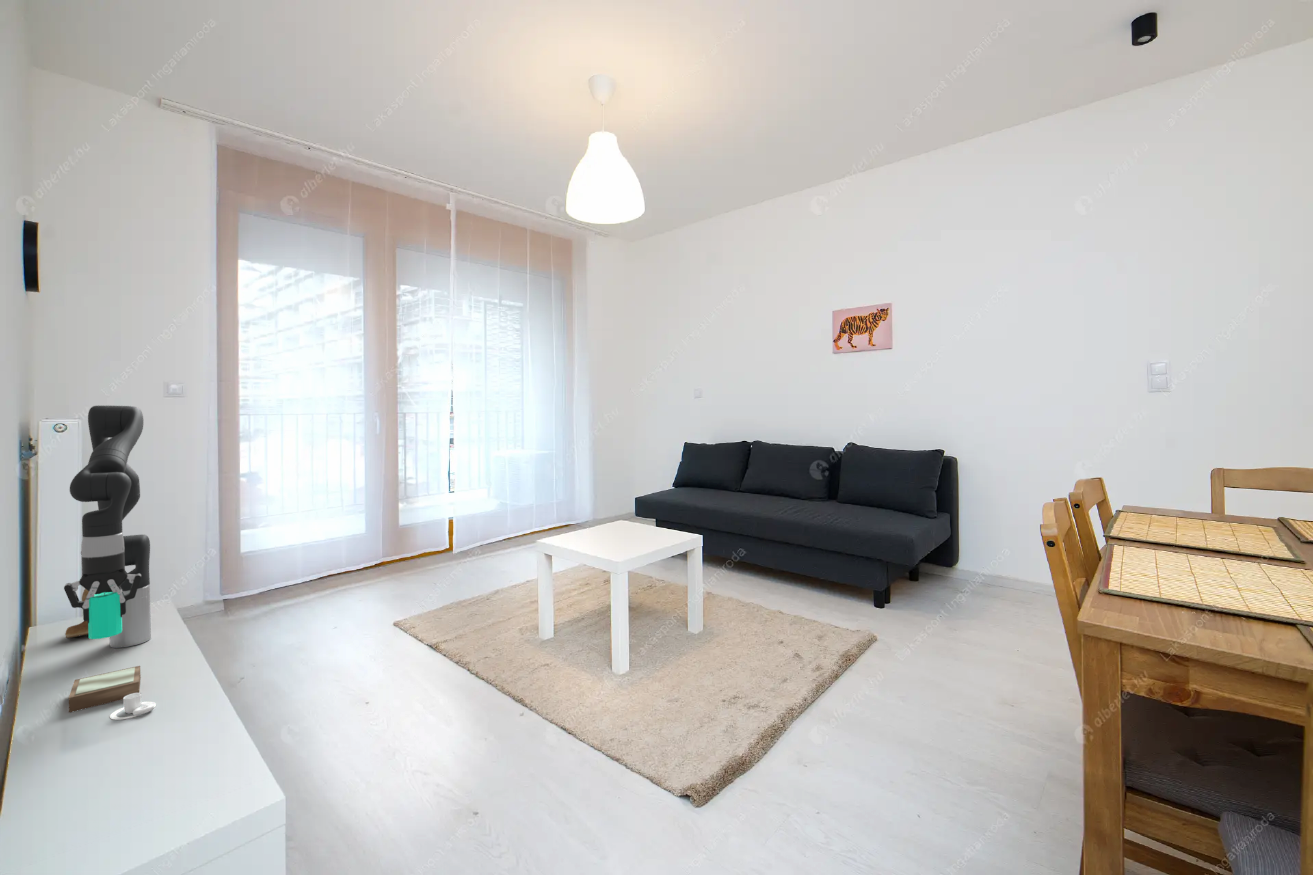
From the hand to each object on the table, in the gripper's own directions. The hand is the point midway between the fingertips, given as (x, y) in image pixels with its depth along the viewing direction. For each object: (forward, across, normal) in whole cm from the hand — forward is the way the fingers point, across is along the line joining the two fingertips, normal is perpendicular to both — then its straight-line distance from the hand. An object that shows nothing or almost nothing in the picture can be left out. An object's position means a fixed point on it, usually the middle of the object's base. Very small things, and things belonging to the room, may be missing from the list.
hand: (105, 619), depth 136 cm
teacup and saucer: (+20, -4, +18) cm, 27 cm away
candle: (+4, 0, 0) cm, 4 cm away
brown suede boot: (+20, +5, -59) cm, 62 cm away
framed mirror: (+19, 0, 0) cm, 19 cm away
